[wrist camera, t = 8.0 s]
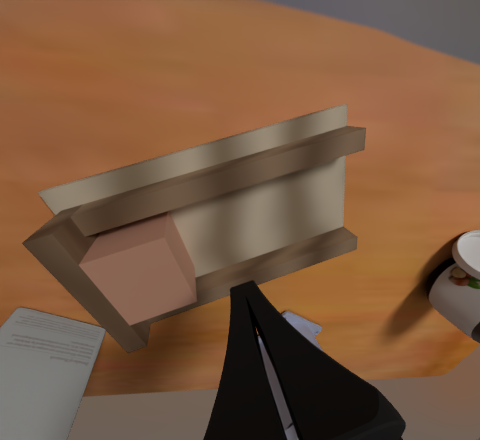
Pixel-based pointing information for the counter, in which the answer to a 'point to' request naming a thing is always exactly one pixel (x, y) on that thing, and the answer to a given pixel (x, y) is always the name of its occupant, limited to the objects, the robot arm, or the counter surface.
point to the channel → (213, 211)
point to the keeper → (142, 268)
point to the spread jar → (459, 285)
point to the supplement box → (43, 373)
